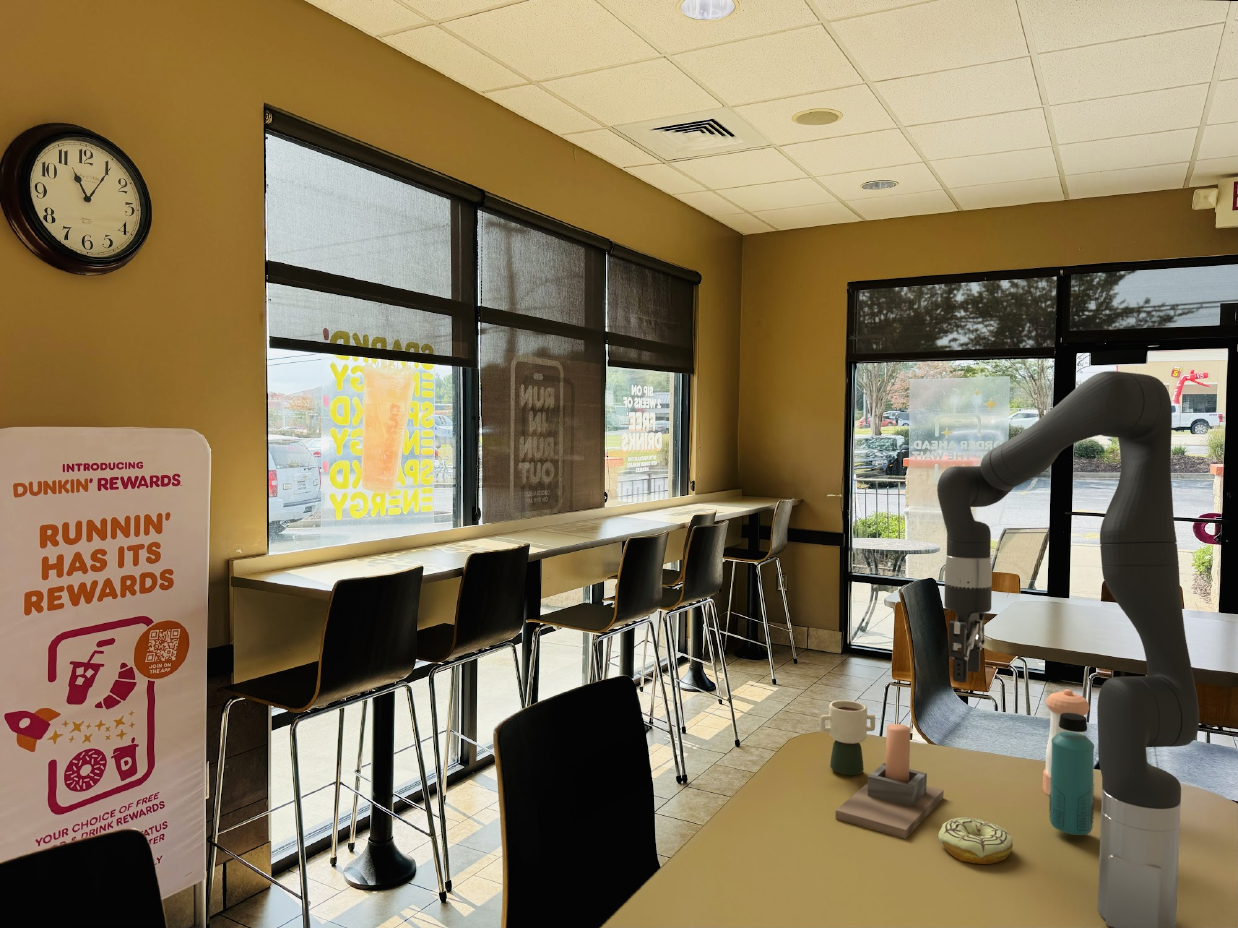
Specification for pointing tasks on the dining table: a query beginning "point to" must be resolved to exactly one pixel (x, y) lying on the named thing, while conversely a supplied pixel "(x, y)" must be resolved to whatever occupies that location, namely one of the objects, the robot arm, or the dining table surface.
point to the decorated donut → (975, 840)
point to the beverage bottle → (1072, 777)
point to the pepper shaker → (1058, 705)
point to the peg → (897, 752)
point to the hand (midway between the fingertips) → (966, 676)
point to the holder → (891, 803)
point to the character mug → (847, 734)
